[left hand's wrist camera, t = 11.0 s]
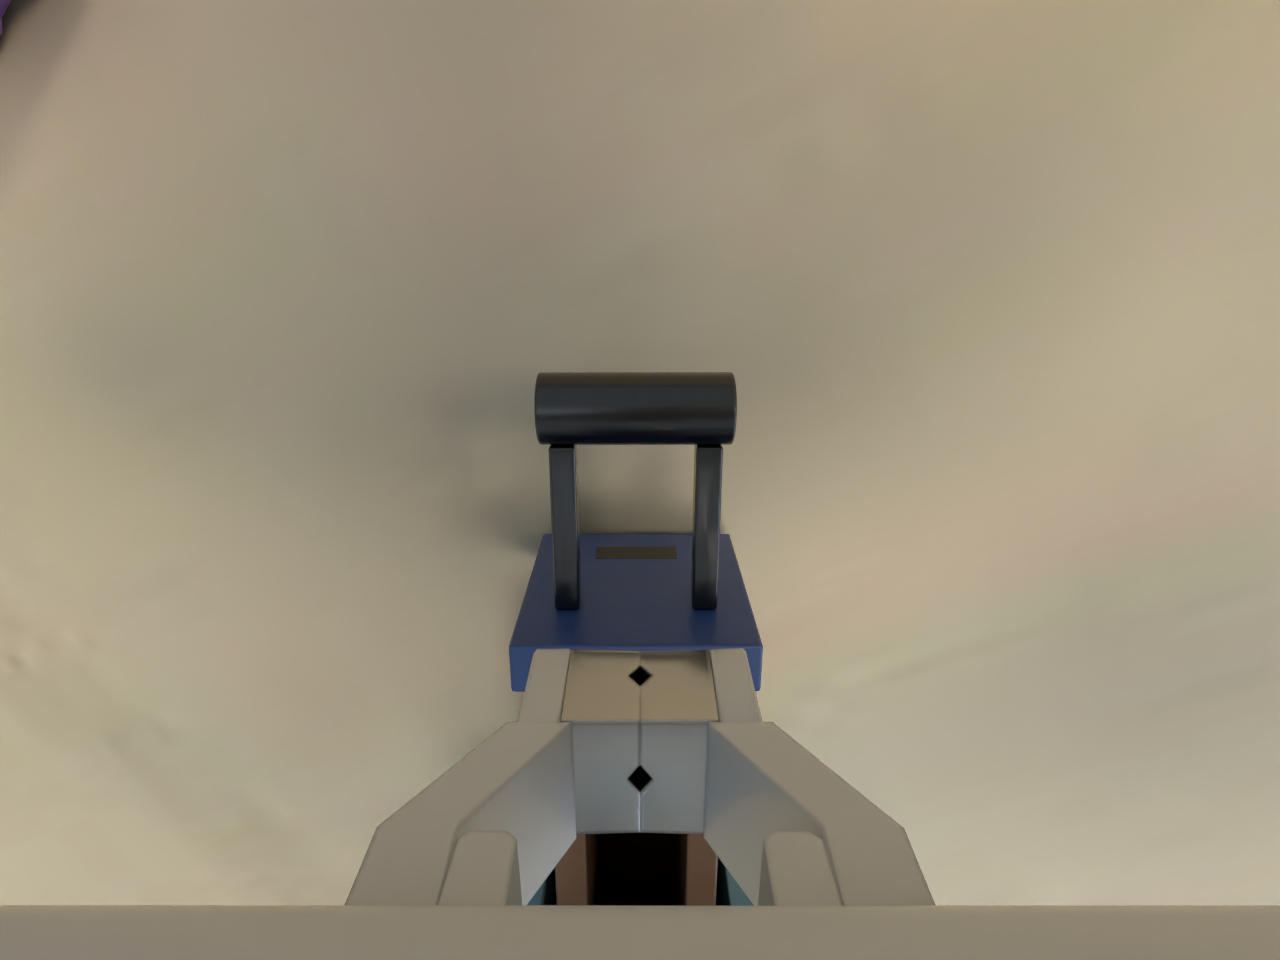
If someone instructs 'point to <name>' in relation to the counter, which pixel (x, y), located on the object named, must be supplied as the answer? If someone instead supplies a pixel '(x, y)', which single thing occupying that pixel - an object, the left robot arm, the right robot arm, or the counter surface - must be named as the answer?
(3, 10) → the figurine
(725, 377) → the drawer
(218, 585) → the counter surface
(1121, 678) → the counter surface
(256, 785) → the counter surface
